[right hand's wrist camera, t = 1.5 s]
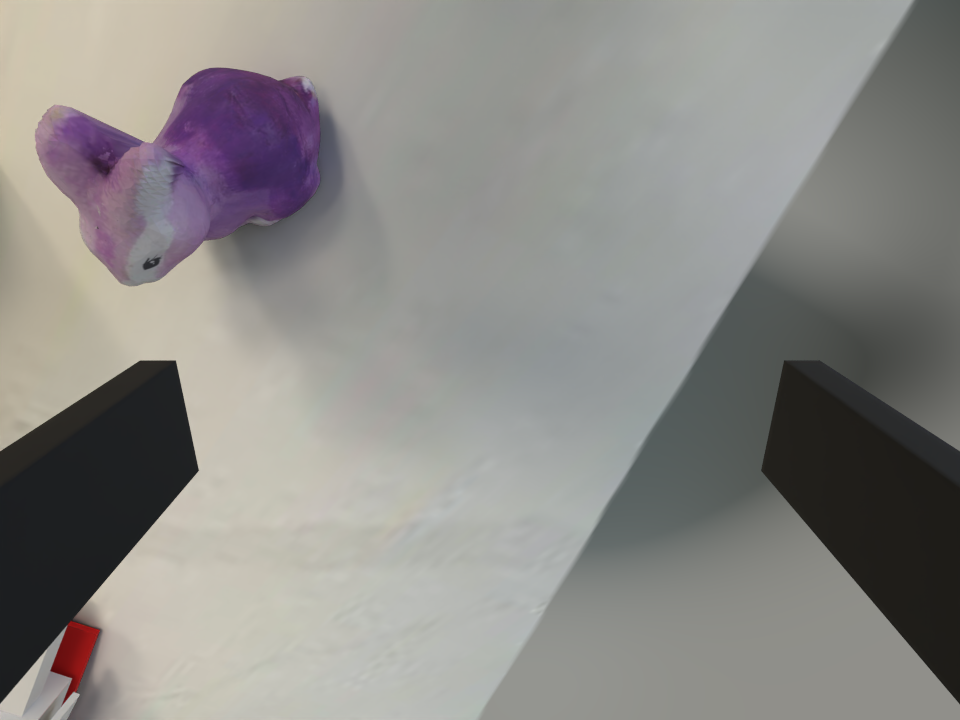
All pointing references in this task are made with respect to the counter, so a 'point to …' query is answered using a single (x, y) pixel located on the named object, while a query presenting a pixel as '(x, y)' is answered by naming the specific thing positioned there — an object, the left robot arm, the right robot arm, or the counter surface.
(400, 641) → the counter surface
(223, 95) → the figurine
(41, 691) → the toy
